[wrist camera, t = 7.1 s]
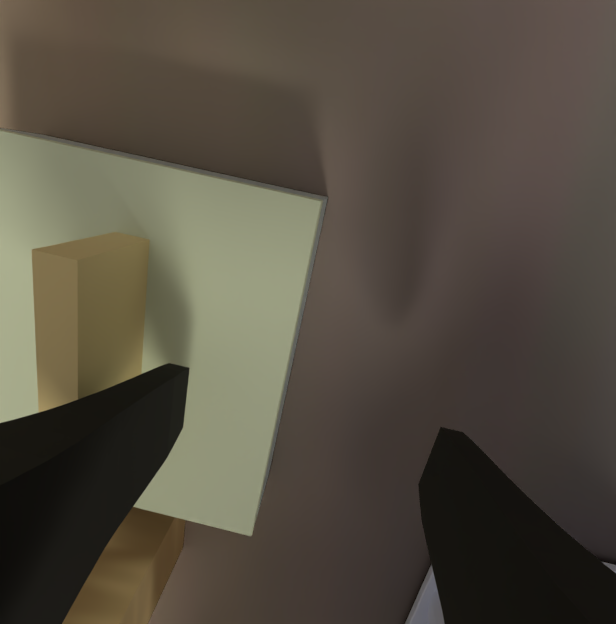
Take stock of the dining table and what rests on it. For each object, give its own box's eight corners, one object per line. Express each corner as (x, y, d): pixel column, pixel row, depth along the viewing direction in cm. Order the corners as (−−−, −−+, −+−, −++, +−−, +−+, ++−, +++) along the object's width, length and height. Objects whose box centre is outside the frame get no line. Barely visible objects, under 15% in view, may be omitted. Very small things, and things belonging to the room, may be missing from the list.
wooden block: (187, 492, 18) (101, 656, 12) (183, 547, 19) (102, 721, 13) (115, 476, 18) (-7, 629, 12) (115, 531, 19) (3, 696, 13)
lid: (323, 200, 11) (309, 209, 7) (256, 518, 15) (226, 626, 11) (-16, 125, 11) (-195, 97, 7) (9, 456, 15) (-98, 542, 11)
